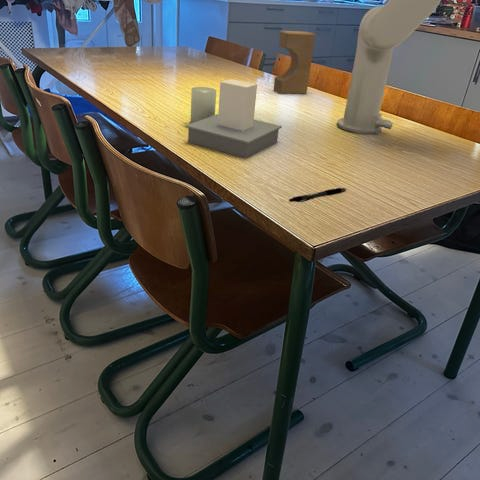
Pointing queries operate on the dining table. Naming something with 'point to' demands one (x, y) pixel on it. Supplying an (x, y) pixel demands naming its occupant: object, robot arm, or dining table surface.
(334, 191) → the pen
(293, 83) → the decorative block
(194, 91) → the grey cylinder
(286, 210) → the dining table surface
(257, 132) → the podium
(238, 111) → the carton
